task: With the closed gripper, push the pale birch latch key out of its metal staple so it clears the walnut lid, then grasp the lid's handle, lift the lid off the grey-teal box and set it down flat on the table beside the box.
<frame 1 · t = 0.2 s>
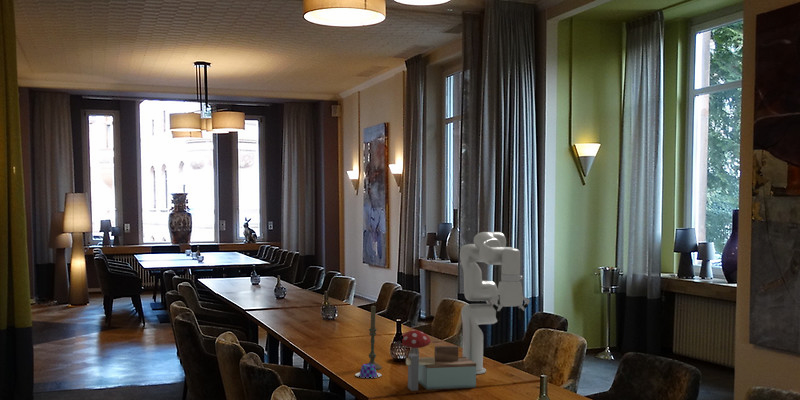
hand: (509, 320, 304), 31 cm above the table, fingers open, 9 cm apart
candlestick holder: (372, 368, 351), on the table
pudding: (368, 376, 335), on the table
toolbox: (446, 384, 321), on the table
decorative mushroom: (414, 360, 371), on the table
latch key: (420, 361, 313), point 12 cm above the table, slide at 0.0 cm
toolbox lid: (446, 366, 321), point 8 cm above the table, touching toolbox
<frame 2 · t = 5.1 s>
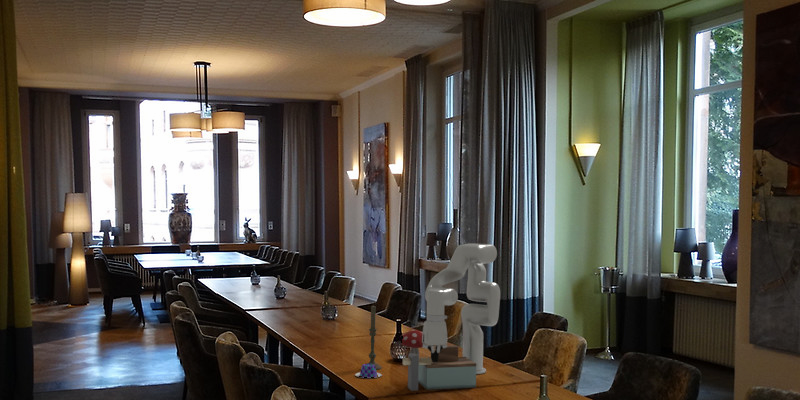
hand: (434, 361, 314), 11 cm above the table, fingers closed
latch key: (416, 361, 312), point 12 cm above the table, slide at 1.5 cm, touching gripper
everything else where it was.
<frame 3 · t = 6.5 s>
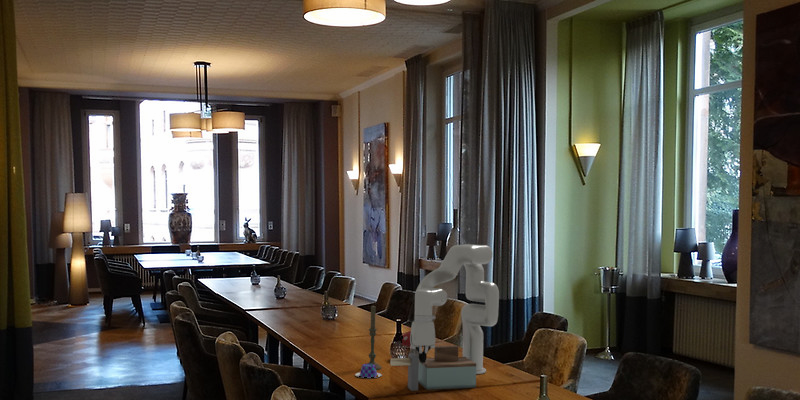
hand: (422, 362, 313), 11 cm above the table, fingers closed
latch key: (404, 361, 311), point 12 cm above the table, slide at 6.8 cm, touching gripper
everything else where it was.
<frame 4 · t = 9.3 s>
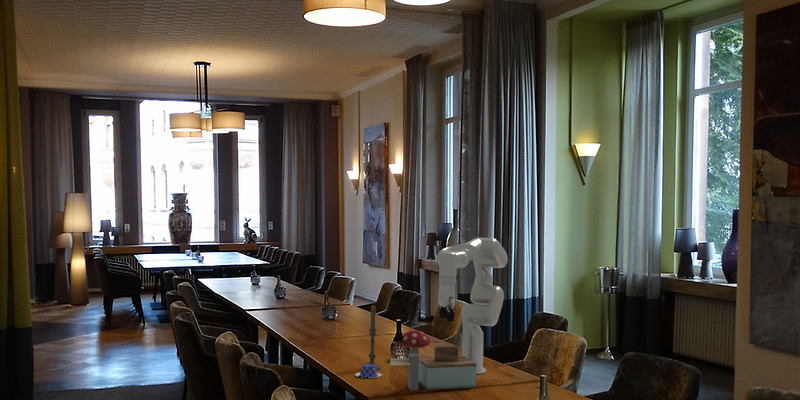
hand: (446, 319, 322), 28 cm above the table, fingers open, 9 cm apart
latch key: (404, 361, 311), point 12 cm above the table, slide at 6.8 cm
everything else where it was.
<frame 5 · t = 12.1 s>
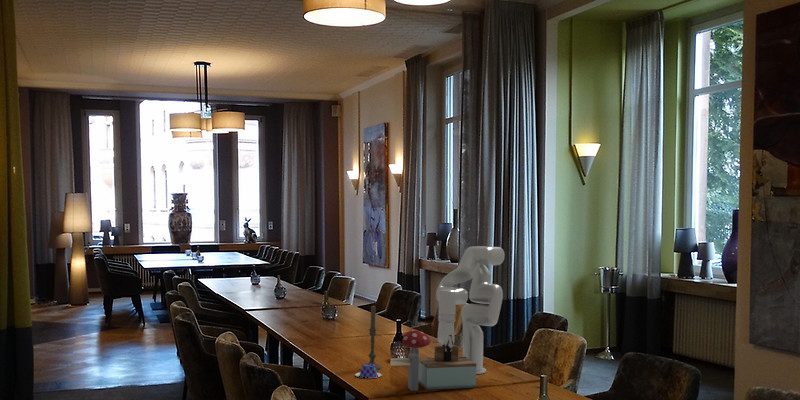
hand: (446, 359, 322), 11 cm above the table, fingers closed on toolbox lid, 2 cm apart
toolbox lid: (446, 366, 321), point 8 cm above the table, touching gripper, toolbox
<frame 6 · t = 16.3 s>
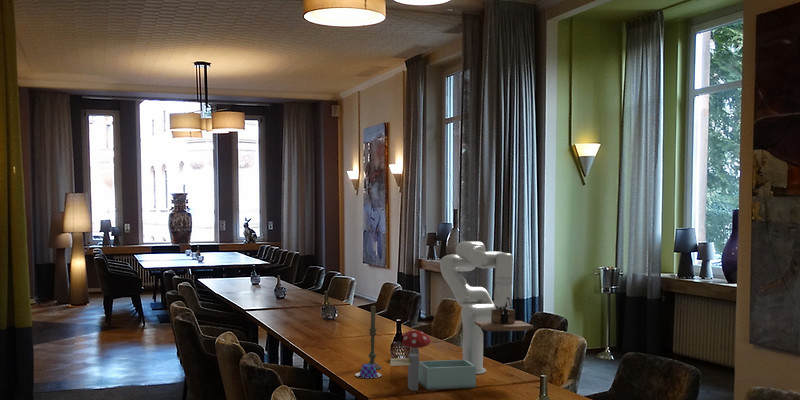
hand: (502, 322, 325), 27 cm above the table, fingers closed on toolbox lid, 2 cm apart
toolbox lid: (503, 328, 324), point 24 cm above the table, touching gripper
when the fingers open (4 cm above the table, at t = 20.7 s): toolbox lid drops 2 cm, on the table.
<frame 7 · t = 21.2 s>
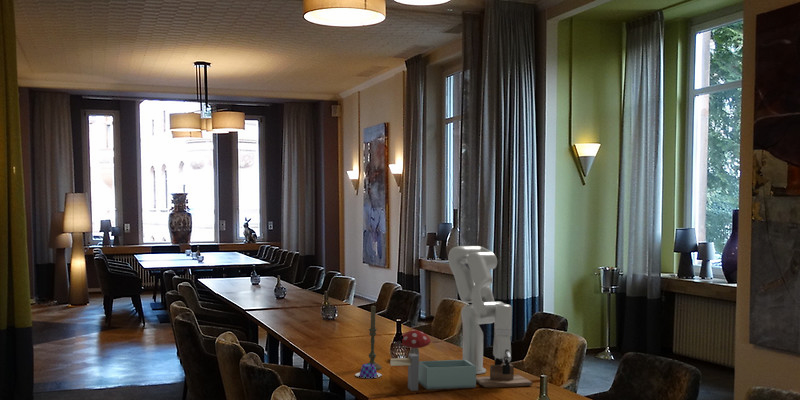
hand: (502, 371, 325), 5 cm above the table, fingers open, 8 cm apart
toolbox lid: (502, 384, 324), on the table
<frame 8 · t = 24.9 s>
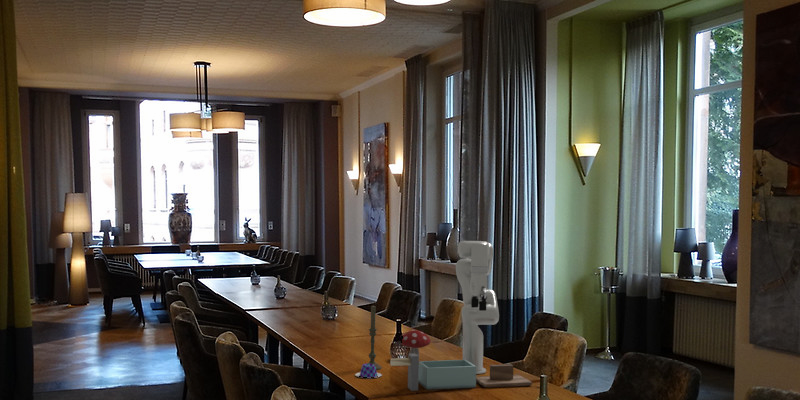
hand: (478, 308, 327), 32 cm above the table, fingers open, 9 cm apart
at the end: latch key slide at 6.8 cm; toolbox lid inside the target area (0.4 cm from its centre), on the table; toolbox lid tilted 0° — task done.
